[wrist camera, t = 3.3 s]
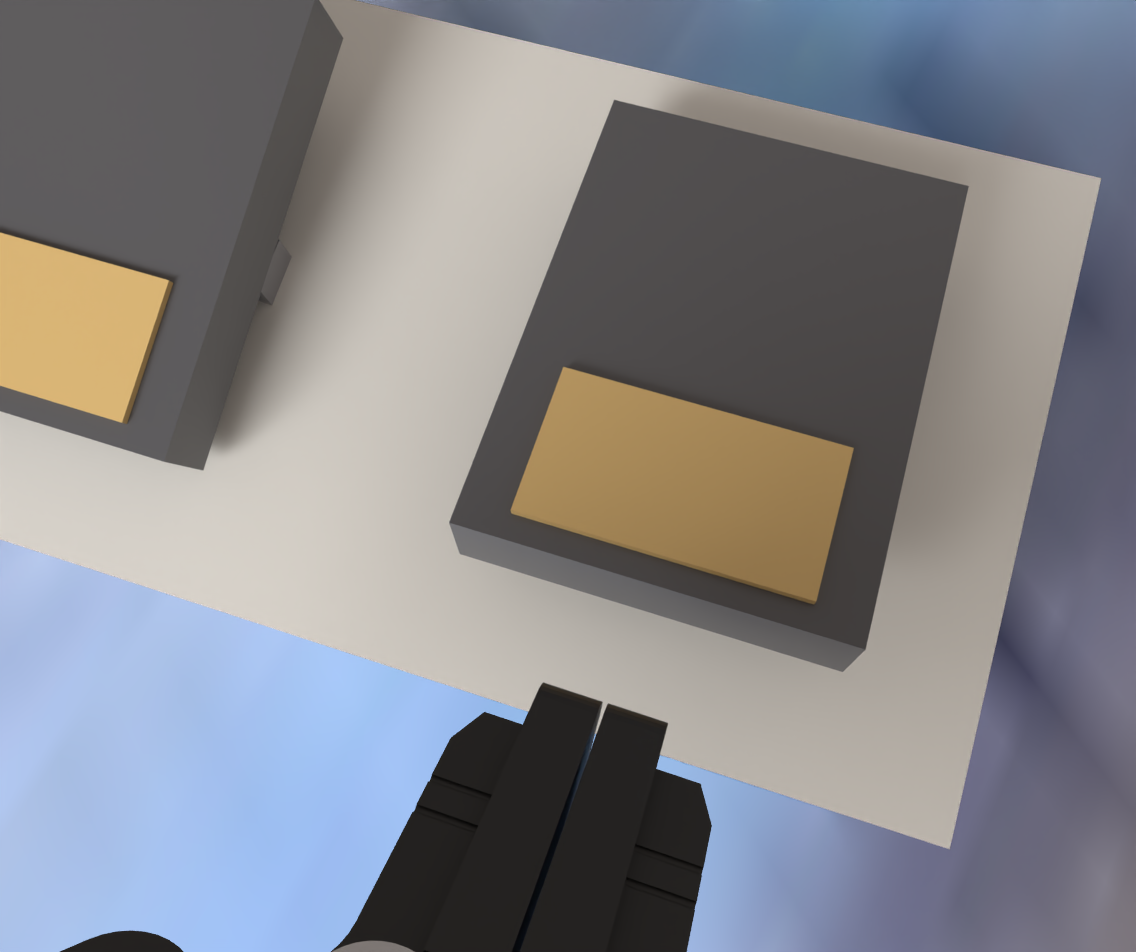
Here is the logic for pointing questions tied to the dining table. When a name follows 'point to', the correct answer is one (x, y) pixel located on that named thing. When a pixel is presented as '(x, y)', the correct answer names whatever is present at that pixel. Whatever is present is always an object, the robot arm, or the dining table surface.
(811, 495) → the rocker outer
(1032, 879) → the dining table surface
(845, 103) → the dining table surface
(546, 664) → the switch box
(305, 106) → the block
